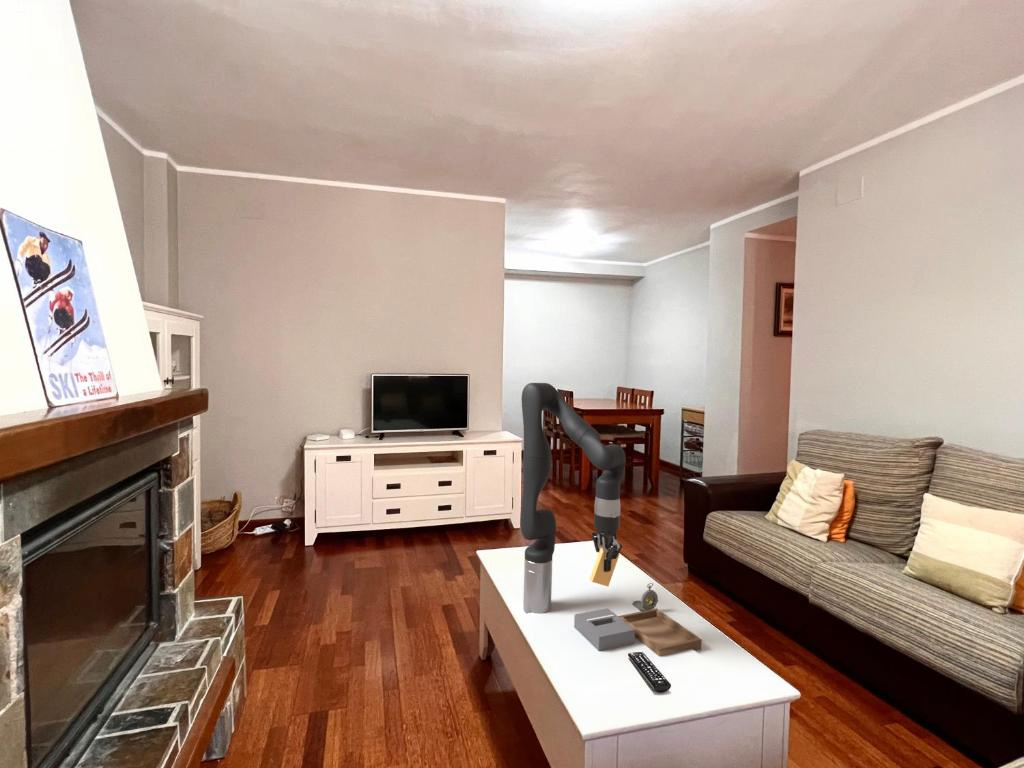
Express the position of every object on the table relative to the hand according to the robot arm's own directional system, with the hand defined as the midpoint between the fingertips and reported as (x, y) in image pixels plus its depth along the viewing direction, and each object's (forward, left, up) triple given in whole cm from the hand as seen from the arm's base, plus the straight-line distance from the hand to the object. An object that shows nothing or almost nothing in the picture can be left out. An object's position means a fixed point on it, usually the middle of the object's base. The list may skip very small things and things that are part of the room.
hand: (605, 569), depth 151 cm
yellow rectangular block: (0, -2, -4) cm, 4 cm away
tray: (+5, +16, -21) cm, 27 cm away
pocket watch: (-11, +23, -21) cm, 33 cm away
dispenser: (0, 0, -21) cm, 21 cm away
